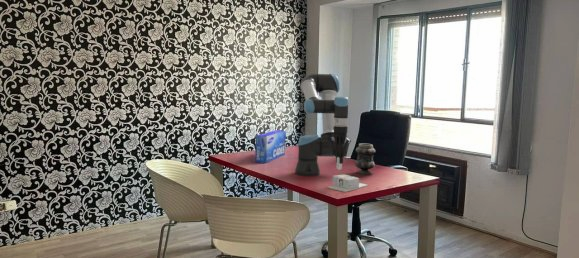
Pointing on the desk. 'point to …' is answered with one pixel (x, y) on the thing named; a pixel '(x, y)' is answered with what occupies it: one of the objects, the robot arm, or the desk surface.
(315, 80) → the robot arm
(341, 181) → the ink box
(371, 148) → the apothecary jar
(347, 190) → the mat
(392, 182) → the desk surface
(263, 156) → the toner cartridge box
